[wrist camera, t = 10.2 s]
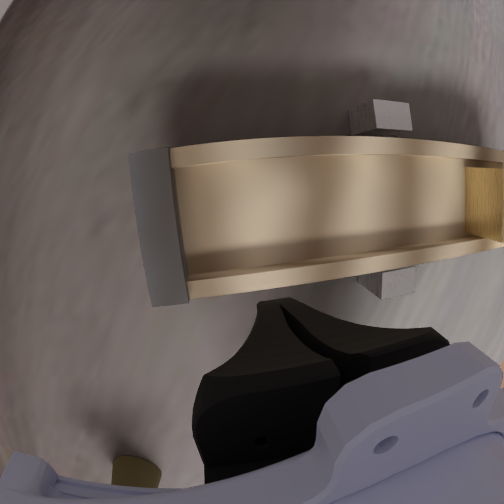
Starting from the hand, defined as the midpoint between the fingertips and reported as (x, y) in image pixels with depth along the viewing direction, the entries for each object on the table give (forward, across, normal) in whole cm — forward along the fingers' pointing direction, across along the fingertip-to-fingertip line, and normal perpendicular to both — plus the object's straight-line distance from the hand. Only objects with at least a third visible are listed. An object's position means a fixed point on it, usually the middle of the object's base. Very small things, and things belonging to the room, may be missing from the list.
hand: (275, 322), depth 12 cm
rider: (+6, -19, -3) cm, 21 cm away
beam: (+7, -10, -4) cm, 13 cm away
